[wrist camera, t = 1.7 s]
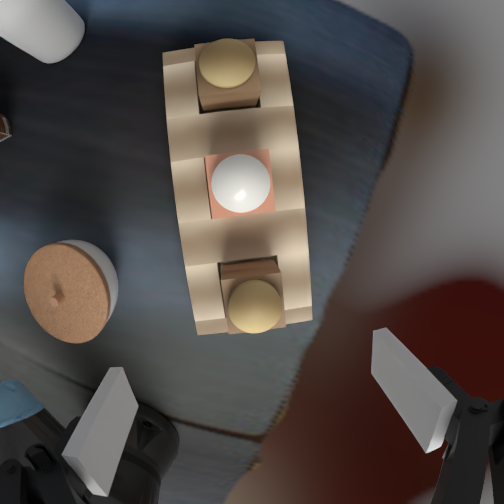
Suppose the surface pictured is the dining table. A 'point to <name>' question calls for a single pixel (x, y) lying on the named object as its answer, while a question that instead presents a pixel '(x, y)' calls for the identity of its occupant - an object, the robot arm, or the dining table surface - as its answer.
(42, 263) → the lidded jar
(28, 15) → the milk bottle
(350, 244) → the dining table surface
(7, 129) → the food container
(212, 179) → the middle button
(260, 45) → the button mount
